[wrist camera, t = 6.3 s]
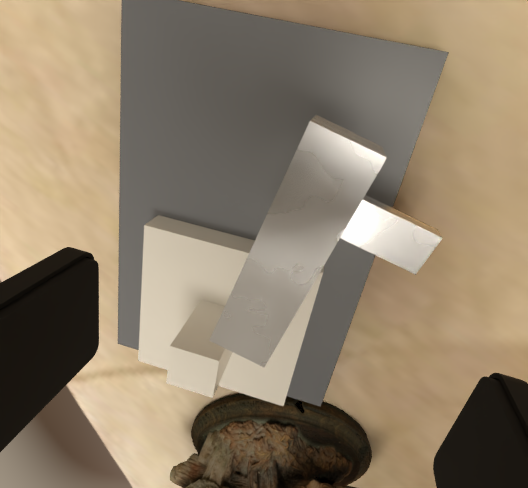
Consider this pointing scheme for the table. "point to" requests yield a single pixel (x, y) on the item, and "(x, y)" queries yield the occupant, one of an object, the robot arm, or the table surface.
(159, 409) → the table surface
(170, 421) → the table surface
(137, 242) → the base
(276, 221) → the t key
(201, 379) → the cover
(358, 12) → the table surface
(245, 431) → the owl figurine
